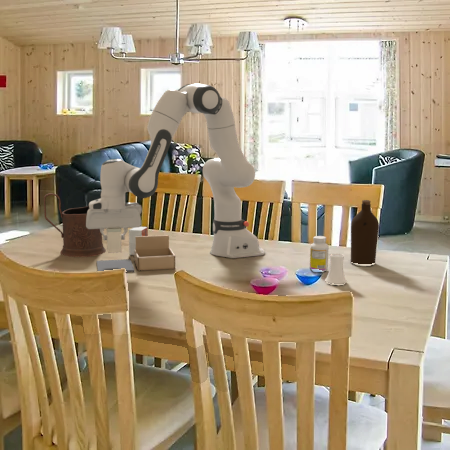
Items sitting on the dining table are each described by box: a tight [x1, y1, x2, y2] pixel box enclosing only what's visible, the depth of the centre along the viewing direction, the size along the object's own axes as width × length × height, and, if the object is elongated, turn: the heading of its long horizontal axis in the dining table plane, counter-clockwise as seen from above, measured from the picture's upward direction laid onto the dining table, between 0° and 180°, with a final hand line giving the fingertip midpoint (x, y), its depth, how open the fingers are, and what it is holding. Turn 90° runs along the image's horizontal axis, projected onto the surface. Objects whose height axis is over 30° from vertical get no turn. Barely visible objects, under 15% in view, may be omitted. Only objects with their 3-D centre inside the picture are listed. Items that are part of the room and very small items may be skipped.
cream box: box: [106, 228, 123, 254], centre depth 227 cm, size 5×7×9 cm
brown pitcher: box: [43, 193, 107, 258], centre depth 249 cm, size 18×24×25 cm
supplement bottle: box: [309, 235, 329, 272], centre depth 226 cm, size 7×7×13 cm
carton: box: [134, 235, 176, 272], centre depth 232 cm, size 14×13×10 cm
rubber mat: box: [96, 258, 135, 273], centre depth 229 cm, size 13×16×1 cm
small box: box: [128, 226, 149, 256], centre depth 250 cm, size 8×6×10 cm
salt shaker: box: [324, 253, 348, 284], centre depth 211 cm, size 8×8×10 cm
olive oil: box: [350, 199, 380, 264], centre depth 236 cm, size 11×11×25 cm
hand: (114, 239), depth 227 cm, fingers closed on cream box, 5 cm apart
